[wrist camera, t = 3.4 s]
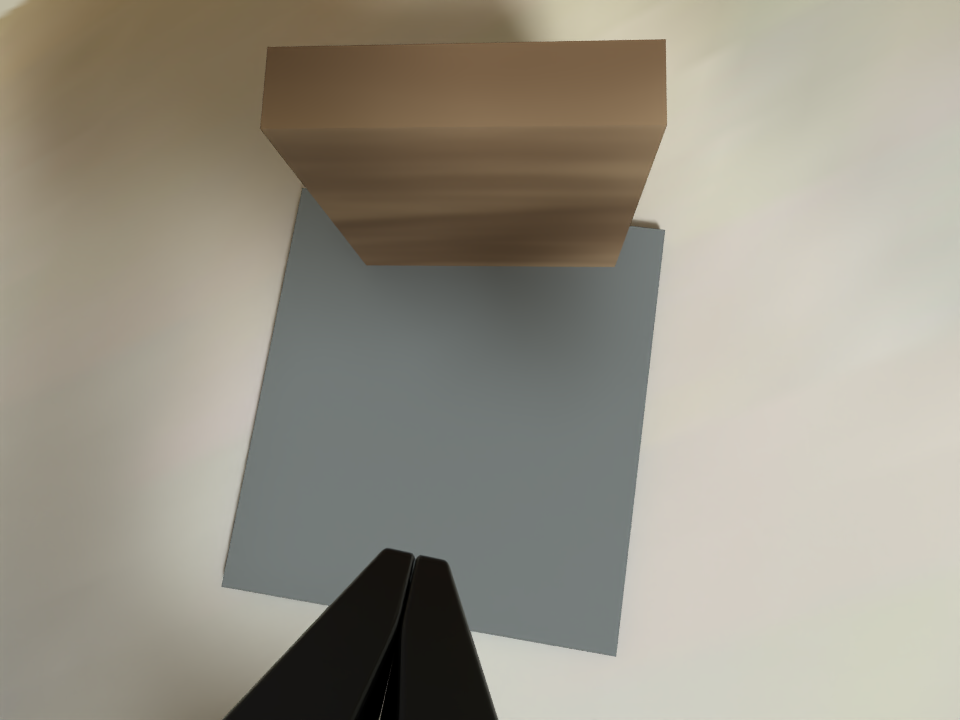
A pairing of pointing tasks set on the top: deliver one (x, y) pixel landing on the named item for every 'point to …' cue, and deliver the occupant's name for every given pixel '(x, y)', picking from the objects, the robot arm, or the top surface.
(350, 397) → the mat
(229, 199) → the top surface
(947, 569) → the top surface
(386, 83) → the board
